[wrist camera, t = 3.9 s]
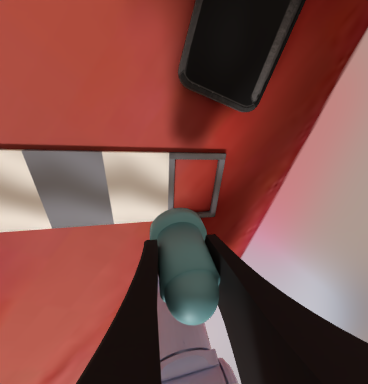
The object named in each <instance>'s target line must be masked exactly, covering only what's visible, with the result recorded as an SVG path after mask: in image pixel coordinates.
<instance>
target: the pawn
mask: <svg viewBox="0 0 368 384" xmlns="http://www.w3.org/2000/svg"><path fill="white" fill-rule="evenodd" d="M206 235H207V232H206V228H205V226H204V224H203V222H202V220H201V218H200V217H199V215H198V214H197V213H196V212H194V211H192V210H190V209H187V208H173V209H169V210H167V211H165V212H163V213H161V214H160V215H158V216H157V217H156V218H155V220H154V221H153V222H152V224H151V227H150V240H155V239H157V243H158V275H159V290H160V297H161V299H162V300H163V301H164V302H165V303H166V305H167V308H168V310H169V311H170V313H171V314H172V316H173V317H174V318H175V319H176V320H178V321H179V322H181V323H183V324H186V325H199V324H202V323H204V322H206V321H207V320H208V319H209V318H210V317H211V316H212V315H213V313H214V312H215V310H216V308H217V305H218V301H219V284H220V276H219V273H218V271H217V269H216V267H215V264H214V262H213V260H212V257H211V255H210V253H209V250H208V248H207V246H206V244H205V237H206Z"/></svg>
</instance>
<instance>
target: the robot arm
mask: <svg viewBox="0 0 368 384" xmlns="http://www.w3.org/2000/svg"><path fill="white" fill-rule="evenodd" d="M205 244H206V246H207V248H208V250H209V253H210V255H211V257H212V260H213V262H214V264H215V267H216V269H217V271H218V273H219V276H220V284H219V301H218V307H219V309H220V312H221V315H222V318H223V320H224V323H225V326H226V330H227V333H228V337H229V340H230V343H231V347H232V350H233V354H234V357H235V361H236V365H237V368H238V372H239V376H240V379H241V383H242V384H368V343H366V342H364V341H363V340H361V339H359V338H357V337H355V336H353V335H352V334H350V333H348V332H346V331H344V330H342V329H340V328H339V327H337V326H335V325H333V324H332V323H330V322H328V321H327V320H325V319H323V318H322V317H320V316H318V315H316V314H315V313H313V312H312V311H310V310H309V309H307V308H305V307H304V306H302V305H301V304H299V303H298V302H296V301H295V300H293V299H291V298H290V297H289V296H287V295H286V294H284V293H283V292H281V291H280V290H279V289H277V288H276V287H275V286H273V285H272V284H270V283H269V282H268V281H267V280H265V279H264V278H263V277H261V276H260V275H259V274H258V273H256V272H255V271H254V270H253V269H252V268H251V267H249V266H248V265H247V264H246V263H245V262H244V261H243V260H241V259H240V258H239V257H238V256H237V255H236V254H235V253H234V252H233V251H232V250H231V249H230V248H229V247H228V246H226V245H225V244H224V243H223V242H222V241H221V240H220V239H219V238H218V237H217V236H216V235H215V234H212V235H206V237H205ZM76 384H238V382H237V379H236V377H235V375H234V373H233V370H232V369H231V367H230V366H229V364H227V363H226V362H225V360H224V359H223V358H217V354H216V351H215V349H212V350H211V346H210V343H209V338H208V335H207V331H206V327H205V323H202V324H199V325H186V324H183V323H181V322H179V321H178V320H176V319H175V318H174V317H173V316H172V314H171V313H170V311H169V310H168V308H167V305H166V303H165V302H164V301H163V300H162V299H161V297H160V290H159V275H158V243H157V239H155V240H146V241H145V242H144V248H143V252H142V256H141V259H140V262H139V265H138V267H137V270H136V273H135V275H134V278H133V280H132V282H131V285H130V287H129V289H128V292H127V294H126V296H125V298H124V300H123V302H122V304H121V306H120V308H119V310H118V312H117V314H116V316H115V318H114V320H113V322H112V324H111V325H110V327H109V329H108V331H107V333H106V334H105V336H104V338H103V340H102V342H101V343H100V345H99V347H98V348H97V350H96V352H95V354H94V355H93V357H92V358H91V360H90V362H89V363H88V365H87V367H86V368H85V370H84V372H83V373H82V375H81V376H80V378H79V380H78V381H77V383H76Z"/></svg>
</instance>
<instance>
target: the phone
mask: <svg viewBox="0 0 368 384" xmlns="http://www.w3.org/2000/svg"><path fill="white" fill-rule="evenodd" d="M305 1H306V0H196V1H195V5H194V9H193V13H192V17H191V21H190V25H189V29H188V32H187V36H186V40H185V44H184V48H183V52H182V56H181V60H180V64H179V69H178V75H179V79H180V82H181V83H182V85H183V86H184V87H186V88H187V89H189V90H192V91H194V92H196V93H198V94H201V95H203V96H205V97H208V98H210V99H212V100H215V101H217V102H219V103H221V104H224V105H226V106H228V107H231V108H233V109H235V110H237V111H240V112H250V111H252V110H254V109H255V108H256V107H257V105H258V104H259V102H260V100H261V98H262V95H263V93H264V91H265V89H266V87H267V84H268V82H269V80H270V78H271V76H272V73H273V71H274V69H275V67H276V65H277V62H278V60H279V58H280V56H281V54H282V51H283V49H284V47H285V45H286V43H287V40H288V38H289V36H290V34H291V32H292V29H293V27H294V25H295V23H296V21H297V18H298V16H299V14H300V12H301V10H302V7H303V5H304V3H305Z"/></svg>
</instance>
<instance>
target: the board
mask: <svg viewBox="0 0 368 384" xmlns="http://www.w3.org/2000/svg"><path fill="white" fill-rule="evenodd" d="M225 158H226V154H225V153H189V152H134V151H79V150H24V149H0V232H10V231H24V230H37V229H51V228H65V227H79V226H93V225H107V224H121V223H135V222H148V221H154V220H155V218H156V217H157V216H158V215H160V214H161V213H163V212H165V211H167V210H169V209H173V199H174V174H175V159H203V160H218V165H217V171H216V177H215V183H214V189H213V195H212V201H211V207H210V211H207V212H196V213H197V214H198V215H199V217H200V218H204V217H215V212H216V207H217V201H218V196H219V191H220V185H221V180H222V174H223V169H224V164H225Z"/></svg>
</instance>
